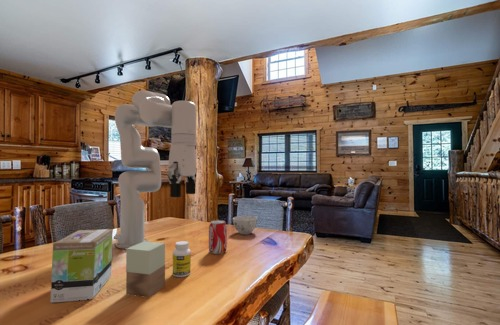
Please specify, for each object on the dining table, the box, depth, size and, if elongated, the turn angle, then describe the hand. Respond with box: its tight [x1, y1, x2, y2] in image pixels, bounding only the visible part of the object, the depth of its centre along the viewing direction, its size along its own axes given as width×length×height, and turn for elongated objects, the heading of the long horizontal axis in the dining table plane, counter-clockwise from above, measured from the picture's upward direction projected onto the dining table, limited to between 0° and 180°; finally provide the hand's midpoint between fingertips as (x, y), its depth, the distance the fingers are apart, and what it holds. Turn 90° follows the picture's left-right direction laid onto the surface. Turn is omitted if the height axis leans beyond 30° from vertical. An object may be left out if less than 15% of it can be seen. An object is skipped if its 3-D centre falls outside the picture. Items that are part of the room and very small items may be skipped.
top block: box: [125, 241, 166, 274], centre depth 72 cm, size 7×7×6 cm
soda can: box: [208, 219, 228, 255], centre depth 104 cm, size 7×7×12 cm
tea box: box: [49, 228, 113, 303], centre depth 73 cm, size 15×10×15 cm, turn 12°
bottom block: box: [125, 264, 166, 298], centre depth 72 cm, size 7×7×6 cm
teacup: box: [232, 215, 258, 235], centre depth 134 cm, size 15×12×8 cm
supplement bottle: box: [172, 240, 192, 278], centre depth 83 cm, size 5×5×10 cm
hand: (183, 195), depth 84 cm, fingers open, 9 cm apart
